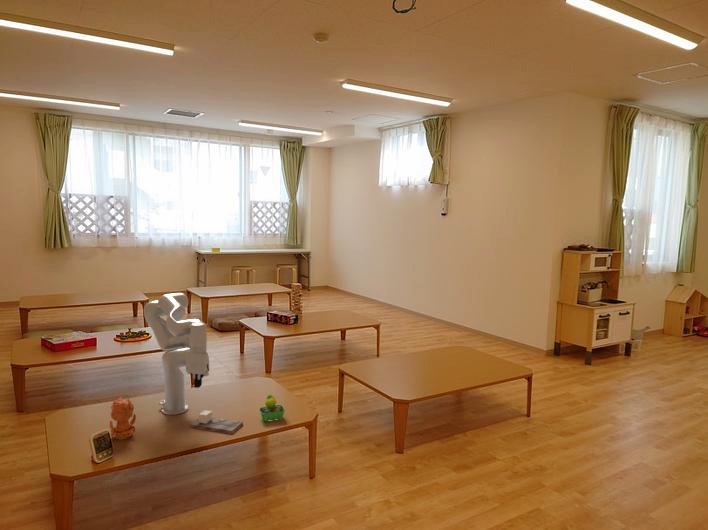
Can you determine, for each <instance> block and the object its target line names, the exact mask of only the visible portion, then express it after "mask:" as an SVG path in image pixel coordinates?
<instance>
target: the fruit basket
mask: <svg viewBox="0 0 708 530" xmlns="http://www.w3.org/2000/svg"><path fill="white" fill-rule="evenodd" d="M258 409H259V412H260V414H261V418H263V419H262V421H263V420H264V421H268V420H275V419H281V418H282V419H283V417H284V414H285V411H286V410H285V408H284V406H283V405H282V404H277V400H276V397H275V396H274V395H272V394H268V395H267V397H266V400H265V406H263V407H259V408H258ZM264 421H263V422H264ZM268 422H269V421H268Z"/></svg>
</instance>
